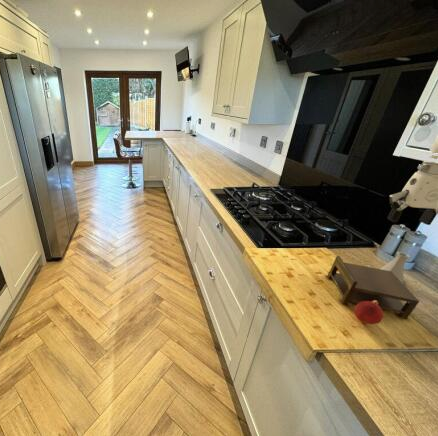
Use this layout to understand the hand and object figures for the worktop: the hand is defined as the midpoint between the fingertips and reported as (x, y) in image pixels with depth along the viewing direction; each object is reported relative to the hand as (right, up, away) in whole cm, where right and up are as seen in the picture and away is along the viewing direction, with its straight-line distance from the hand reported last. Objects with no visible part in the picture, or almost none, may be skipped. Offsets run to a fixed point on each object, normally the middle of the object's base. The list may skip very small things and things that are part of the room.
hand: (407, 221), depth 76 cm
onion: (-24, -29, -10) cm, 38 cm away
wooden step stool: (-15, -24, 0) cm, 28 cm away
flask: (+3, -21, +9) cm, 23 cm away
